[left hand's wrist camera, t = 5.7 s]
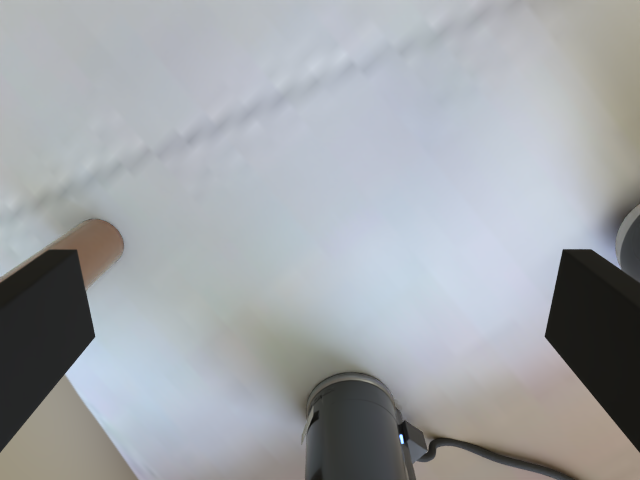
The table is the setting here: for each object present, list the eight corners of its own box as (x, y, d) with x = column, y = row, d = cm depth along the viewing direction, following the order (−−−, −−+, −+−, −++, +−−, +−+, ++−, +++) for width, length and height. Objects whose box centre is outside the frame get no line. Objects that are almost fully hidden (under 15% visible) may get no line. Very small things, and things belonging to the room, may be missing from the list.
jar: (100, 209, 41) (-63, 318, 24) (134, 249, 42) (4, 379, 25) (63, 235, 42) (-120, 358, 24) (97, 273, 43) (-53, 415, 26)
